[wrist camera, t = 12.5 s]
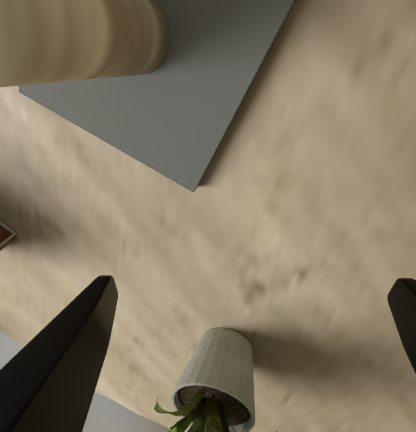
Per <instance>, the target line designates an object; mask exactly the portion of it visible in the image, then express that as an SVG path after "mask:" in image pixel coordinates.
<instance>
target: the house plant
mask: <svg viewBox="0 0 416 432" xmlns="http://www.w3.org/2000/svg"><path fill="white" fill-rule="evenodd" d="M171 397H172V404H173V406H174V408H175V409H176V412H167V411H165V410H163V409H162V407H161V406H160V405H159V403H158V396H157V403H156V405H155V408H154V409H155V410H156V412H158V413H169V414H172V415H174V416H182V417H183V419H181V420H180V421H178V422H177V423H176V424H175V425H174V426H173V427H171V428H169V432H184V431H185V430H186V429H187V427H188V426H189V425H190V423H191V424H193V425H192V426H191V428H190V429H189V430H188V432H249V431H250V430H251V429H252V428H253V426H254V425H255V403H254V382H253V361H252V348H251V344H250V343H249V342H248V340H247V339H246V338H245V337H244V336H243V335H241V334H239V333H238V332H236V331H233V330H230V329H226V328H214V329H210V330H208V331H206V332H205V333H204V335H203V336H202V338H201V340H200V342H199V344H198V346H197V347H196V349H195V351H194V353H193V355H192V357H191V359H190V361H189V362H188V364H187V366H186V368H185V370H184V372H183V374H182V376H181V377H180V379H179V381H178V383H177V385H176V387H175V389H174V391H173V393H172V396H171ZM277 431H278V430H277Z"/></svg>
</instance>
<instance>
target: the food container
mask: <svg viewBox="0 0 416 432" xmlns="http://www.w3.org/2000/svg"><path fill="white" fill-rule="evenodd" d="M16 235H17V233H16V232H14V231H13V230H12V229H10V228H9V227H7V226H6V225H5V224H3V223H2V222H0V251H1V250H2V249H3V248H4V247H6V246H7V245H8V244H9V243H11V242H12V241H13V240H14V239H15V237H16Z"/></svg>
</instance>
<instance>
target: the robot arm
mask: <svg viewBox="0 0 416 432" xmlns="http://www.w3.org/2000/svg"><path fill="white" fill-rule="evenodd" d="M117 300H118V291H117V288H116V285H115V281H114V278H113V277H112V276H110V275H101V276H98V277H97V278H96V279H95V280H94V281H93V282H92V283H91V284H90V285H89V286H87V287H86V288H85V289H84V290H83V291H82V292H81V293H80V294H79V295H78V296H77V297H76V298H75V299H74V300H73V301H72V302H71V303H70V304H69V305H68V306H67V307H65V308H64V309H63V310H62V311H61V312H60V313H59V314H58V315H57V316H56V317H55V318H54V319H53V320H52V321H51V322H50V323H49V324H48V325H47V326H46V327H45V328H44V329H42V330H41V331H40V332H39V333H38V334H37V335H36V336H35V337H34V338H33V339H32V340H31V341H30V342H29V343H28V344H27V345H26V346H25V347H24V348H23V349H22V350H21V351H19V352H18V354H16V355H15V356H14V357H13V358H12V359H11V360H10V361H9V362H8V363H7V364H6V365H5V366H4V367H3V368H2V369H1V370H0V432H82V430H83V427H84V424H85V420H86V417H87V414H88V411H89V407H90V404H91V401H92V397H93V394H94V391H95V388H96V385H97V382H98V378H99V375H100V372H101V369H102V366H103V362H104V359H105V356H106V353H107V349H108V345H109V341H110V336H111V331H112V326H113V321H114V315H115V310H116V305H117ZM388 303H389V306H390V309H391V312H392V315H393V318H394V321H395V324H396V327H397V329H398V332H399V335H400V338H401V341H402V344H403V346H404V349H405V351H406V354H407V356H408V358H409V360H410V362H411V365H412V367H413V369H414V371H415V373H416V280H415V279H412V278H399V279H397V280H396V282H395V283H394V285H393V287H392V288H391V290H390V292H389V294H388Z"/></svg>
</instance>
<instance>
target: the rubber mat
mask: <svg viewBox="0 0 416 432" xmlns="http://www.w3.org/2000/svg"><path fill="white" fill-rule="evenodd" d="M154 1H155V2H156V3H157V4H158V5H159V6H160V8H161V9H162V11H163V13H164V15H165V17H166V20H167V23H168V27H169V35H170V40H169V48H168V52H167V55H166V57H165V59H164V61H163V63H162V64H161V65H160V66H159V67H158V68H157V69H156V70H155V71H153V72H151V73H149V74H145V75H134V76H123V77H111V78H100V79H89V80H77V81H66V82H54V83H43V84H31V85H20V86H19V92H20V93H22V94H23V95H25V96H27V97H29V98H30V99H32V100H34V101H36V102H37V103H39V104H41V105H42V106H44V107H46V108H48V109H49V110H51V111H53V112H55V113H56V114H58V115H60V116H62V117H63V118H65V119H67V120H69V121H70V122H72V123H74V124H75V125H77V126H79V127H81V128H82V129H84V130H86V131H88V132H89V133H91V134H93V135H95V136H96V137H98V138H100V139H102V140H103V141H105V142H107V143H109V144H110V145H112V146H114V147H115V148H117V149H119V150H121V151H122V152H124V153H126V154H128V155H129V156H131V157H133V158H135V159H136V160H138V161H140V162H142V163H143V164H145V165H147V166H148V167H150V168H152V169H154V170H155V171H157V172H159V173H161V174H162V175H164V176H166V177H168V178H169V179H171V180H173V181H175V182H176V183H178V184H180V185H181V186H183V187H185V188H187V189H188V190H190V191H192V192H194V191H195V190H196V188H197V187H198V185H199V183H200V181H201V179H202V177H203V175H204V174H205V172H206V170H207V168H208V166H209V164H210V162H211V160H212V158H213V156H214V154H215V153H216V151H217V149H218V147H219V145H220V143H221V141H222V139H223V137H224V135H225V134H226V132H227V130H228V128H229V126H230V124H231V122H232V120H233V118H234V116H235V114H236V113H237V111H238V109H239V107H240V105H241V103H242V101H243V99H244V97H245V95H246V93H247V92H248V90H249V88H250V86H251V84H252V82H253V80H254V78H255V76H256V74H257V73H258V71H259V69H260V67H261V65H262V63H263V61H264V59H265V57H266V55H267V53H268V52H269V50H270V48H271V46H272V44H273V42H274V40H275V38H276V36H277V34H278V33H279V31H280V29H281V27H282V25H283V23H284V21H285V19H286V17H287V15H288V13H289V12H290V10H291V8H292V6H293V4H294V2H295V0H154Z"/></svg>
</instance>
